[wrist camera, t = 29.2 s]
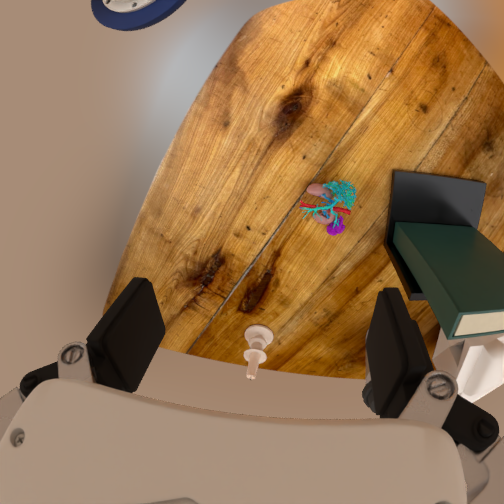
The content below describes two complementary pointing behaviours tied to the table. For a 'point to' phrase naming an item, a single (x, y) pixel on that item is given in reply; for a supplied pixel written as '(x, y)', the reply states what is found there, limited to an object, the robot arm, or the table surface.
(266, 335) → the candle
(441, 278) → the book
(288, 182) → the table surface
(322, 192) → the anatomy model
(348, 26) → the table surface
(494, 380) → the folded paper
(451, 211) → the book stand
